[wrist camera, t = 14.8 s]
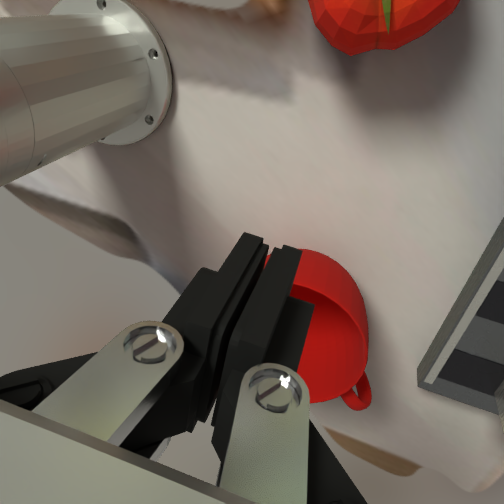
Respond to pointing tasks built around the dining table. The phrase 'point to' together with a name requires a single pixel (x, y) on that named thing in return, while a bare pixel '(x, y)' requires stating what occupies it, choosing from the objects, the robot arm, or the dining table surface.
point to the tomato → (377, 21)
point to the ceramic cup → (332, 332)
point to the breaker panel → (472, 339)
